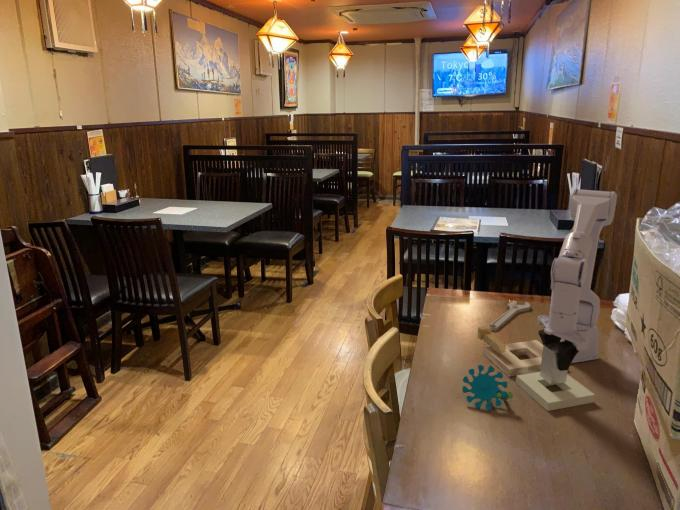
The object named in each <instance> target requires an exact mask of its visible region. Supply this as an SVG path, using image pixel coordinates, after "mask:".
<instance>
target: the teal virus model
mask: <svg viewBox="0 0 680 510" xmlns="http://www.w3.org/2000/svg"><path fill="white" fill-rule="evenodd" d="M484 367H485V366H484V365H482V364H478V366H477V369H478V374H477V376H475V369H474V368H470V369H468V374H469V375H470V376H471V377H472V381H470V380H469V377H468V376H466V375H465V376H464V377H463V378H462V382H463V383H465V384H468V385H469V386H470V387H471V388H468V387H467V386H465V385H464V386H462V388H461V389H462V393H472V394H474V395H473V396H472V395H467V396H466V401H467V403H472V401H473V400H476V399H480V401H477V402H475V403H474V406H475V408H476V409H478V410H480V409H481V407H482V404H483V403H484V402H485V401H488V403H486V404H485V410H488V411H489V410H490V411H491V410H492V407H493V406H492V404H491V402H492V399H495V406H496V407H500V406H502V405H503V403H502V401H504V402H506V401H508V400H509V399H512V398H513V397H514V396H513V392H512V391H508V392H507V391H504V390H502V389H501V388H499V386H502V387H503V388H504V389H507V388H508V381H506V380H504V381H498V380H496V378H497V379H503V378H504V374H503V372H502V371H497V373H495V374H494V375H490V373H494V372H495V370H496V369H495V367H494V366H492V365H489V366H488V369H487V371H486V372H485V373H482V372H483V371H484V369H485V368H484Z"/></svg>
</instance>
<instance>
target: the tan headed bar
mask: <svg viewBox="0 0 680 510" xmlns="http://www.w3.org/2000/svg"><path fill="white" fill-rule="evenodd" d="M477 338H478V340H479V341H483V342H484V343H485V344H487V345H488V347H492V348H493V349H494V350H495V351H496V352H498V353H503V352H505V351H506V345H505V344H506V343H504V342H502V341H501V340H500V339H499V338H497V337H496V336H495V335H494V334H493V333H492V331H491V328H490V327H489V325H487V326H485V325H484V326H478V327H477Z"/></svg>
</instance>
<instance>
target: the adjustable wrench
mask: <svg viewBox="0 0 680 510" xmlns="http://www.w3.org/2000/svg"><path fill="white" fill-rule="evenodd" d="M506 308H508V310H507V311H505V312H504V313H503V314H501V315H500V316H498V318H496V319H495V320H493V321H492V322H491V323H490V324H488V326H489V327H490V328H491V332H497V331H498V330H499V329H501V327H503V326H504V325H505V324H506V323H507V322H508V321H510V320H511V319H512V318H513V317H515V316H516V314H519V313H523V312H528V311H530V310H531V304H530V303H529V302H528V301H525V303H524V304H518V303H517V300H512V301H510V302H509V303H506ZM502 325H503V326H502Z"/></svg>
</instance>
